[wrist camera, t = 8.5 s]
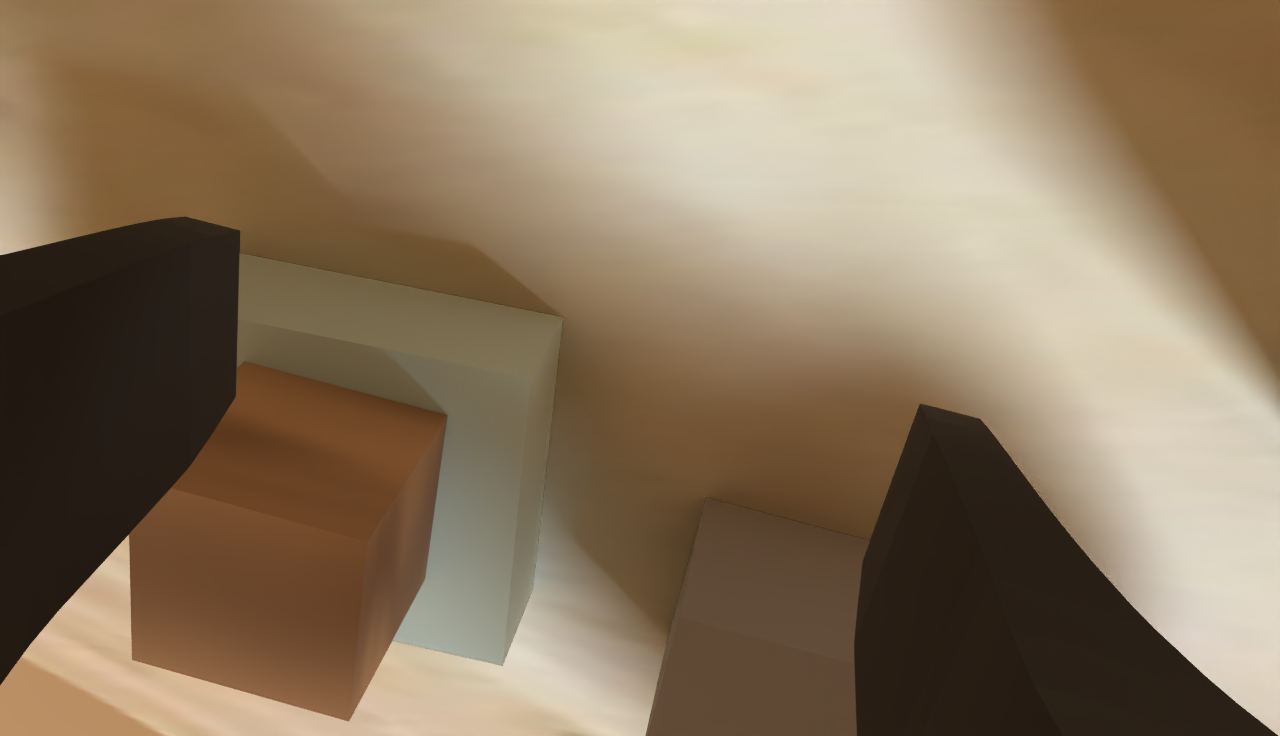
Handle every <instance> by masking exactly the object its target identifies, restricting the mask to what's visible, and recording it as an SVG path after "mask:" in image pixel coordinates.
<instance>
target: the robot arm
mask: <svg viewBox="0 0 1280 736" xmlns="http://www.w3.org/2000/svg"><path fill="white" fill-rule="evenodd" d="M239 255H240V231H239V230H235V229H231V228H227V227H223V226H219V225H215V224H211V223H208V222H204V221H200V220H196V219H192V218H188V217H178V218H167V219H160V220H154V221H149V222H143V223H138V224H133V225H129V226H124V227H120V228H115V229H111V230H106V231H102V232H98V233H93V234H89V235H85V236H81V237H77V238H72V239H68V240H64V241H60V242H56V243H51V244H47V245H43V246H39V247H34V248H30V249H26V250H22V251H18V252H13V253H9V254H5V255H0V685H1V683H2V682H3V681H4V679H5V678H6V677H7V675H8V674H9V672H10V671H11V669H12V668H13V667H14V666H15V664H16V663H17V661H18V660H19V659H20V657H21V656H22V655H23V653H24V652H25V651H26V649H27V648H28V647H29V645H30V644H31V643H32V642H33V640H34V639H35V638H36V637H37V636H38V634H39V633H40V632H41V631H42V630H43V628H44V627H45V626H46V625H47V624H48V622H49V621H50V620H51V619H52V618H53V617H54V615H55V614H56V613H57V612H58V611H59V609H60V608H61V607H62V606H63V605H64V604H65V603H66V602H67V601H68V600H69V599H70V598H71V596H72V595H73V594H74V593H75V592H76V591H77V590H78V589H79V588H80V587H81V586H82V585H83V583H84V582H85V581H86V580H87V579H88V578H89V577H90V576H91V575H92V574H93V573H94V571H95V570H96V569H97V568H98V567H99V566H100V565H101V564H102V563H103V562H104V561H105V560H106V558H107V557H108V556H109V555H110V554H111V553H112V552H113V551H114V550H115V549H116V548H117V547H118V545H119V544H120V543H121V542H122V541H123V540H124V539H125V538H126V537H127V536H128V535H129V534H130V532H131V531H132V530H133V529H134V528H135V527H136V526H137V525H138V524H139V523H140V522H141V521H142V519H143V518H144V517H145V516H146V515H147V514H148V513H149V512H150V511H151V510H152V508H153V507H154V506H155V505H156V504H157V503H158V502H159V501H160V500H161V498H162V497H163V496H164V495H165V494H166V493H167V492H168V491H169V490H170V488H171V487H172V486H173V485H174V484H175V483H176V482H177V481H178V479H179V478H180V477H181V476H182V475H183V474H184V473H185V471H186V470H187V469H188V468H189V467H190V466H191V464H192V463H193V461H194V460H195V458H196V457H197V455H198V454H199V453H200V451H201V450H202V448H203V447H204V445H205V444H206V442H207V441H208V440H209V438H210V437H211V435H212V434H213V432H214V430H215V429H216V427H217V426H218V424H219V423H220V421H221V419H222V418H223V416H224V415H225V413H226V412H227V410H228V408H229V407H230V405H231V404H232V402H233V400H234V399H235V397H236V374H237V334H238V295H239ZM854 665H855V696H856V724H857V736H1278V735H1277V734H1275V733H1274V732H1273V731H1271V730H1270V729H1269V728H1268V727H1266V726H1265V725H1264V724H1263V723H1261V722H1260V721H1259V720H1258V719H1256V718H1255V717H1254V716H1252V715H1251V714H1250V713H1249V712H1247V711H1246V710H1245V709H1244V708H1242V707H1241V706H1240V705H1239V704H1237V703H1236V702H1235V701H1234V700H1233V699H1231V698H1230V697H1229V696H1228V695H1227V694H1226V693H1224V692H1223V691H1222V690H1221V689H1220V688H1218V687H1217V686H1216V685H1215V684H1214V683H1213V682H1211V681H1210V680H1209V679H1208V678H1207V677H1206V676H1205V675H1203V674H1202V673H1201V672H1200V671H1199V670H1198V669H1197V668H1196V667H1195V666H1194V665H1193V664H1192V663H1191V662H1190V661H1188V660H1187V659H1186V658H1185V657H1184V656H1183V655H1182V654H1181V653H1180V652H1179V651H1178V650H1177V649H1176V648H1175V647H1173V646H1172V645H1171V644H1170V643H1169V642H1168V641H1167V640H1166V639H1165V638H1164V637H1163V636H1162V635H1161V634H1160V633H1158V632H1157V631H1156V630H1155V629H1154V628H1153V627H1152V626H1151V625H1150V624H1149V623H1148V622H1147V621H1146V620H1145V619H1144V618H1143V617H1142V616H1141V615H1140V614H1139V613H1138V611H1137V610H1136V609H1135V608H1134V607H1133V606H1132V605H1131V604H1130V603H1129V602H1128V601H1127V600H1126V599H1125V598H1124V596H1123V595H1122V594H1121V593H1120V592H1119V591H1118V590H1117V589H1116V588H1115V586H1114V585H1113V584H1112V583H1111V582H1110V581H1109V580H1108V579H1107V578H1106V577H1105V575H1104V574H1103V573H1102V572H1101V571H1100V570H1099V569H1098V568H1097V567H1096V565H1095V564H1094V563H1093V562H1092V561H1091V560H1090V558H1089V557H1088V556H1087V555H1086V554H1085V553H1084V551H1083V550H1082V549H1081V548H1080V547H1079V545H1078V544H1077V543H1076V542H1075V541H1074V539H1073V538H1072V537H1071V536H1070V534H1069V533H1068V532H1067V531H1066V530H1065V528H1064V527H1063V526H1062V525H1061V523H1060V522H1059V521H1058V519H1057V518H1056V517H1055V516H1054V514H1053V513H1052V512H1051V511H1050V509H1049V508H1048V507H1047V505H1046V504H1045V503H1044V501H1043V500H1042V499H1041V498H1040V496H1039V495H1038V494H1037V492H1036V491H1035V490H1034V488H1033V487H1032V486H1031V484H1030V483H1029V482H1028V480H1027V479H1026V478H1025V476H1024V475H1023V474H1022V472H1021V471H1020V470H1019V468H1018V467H1017V466H1016V464H1015V463H1014V462H1013V460H1012V459H1011V458H1010V456H1009V455H1008V454H1007V452H1006V451H1005V449H1004V448H1003V447H1002V445H1001V444H1000V443H999V441H998V440H997V439H996V438H995V436H994V435H993V434H992V432H991V431H990V430H989V429H988V427H987V426H986V425H985V424H984V423H983V422H982V421H981V420H980V419H978V418H975V417H971V416H967V415H963V414H959V413H955V412H951V411H947V410H943V409H939V408H935V407H931V406H927V405H923V404H920V405H919V408H918V410H917V413H916V416H915V419H914V421H913V424H912V427H911V430H910V432H909V435H908V438H907V441H906V443H905V446H904V449H903V452H902V454H901V457H900V460H899V463H898V465H897V468H896V471H895V474H894V476H893V479H892V482H891V485H890V487H889V490H888V493H887V496H886V498H885V501H884V504H883V507H882V509H881V512H880V515H879V518H878V520H877V523H876V526H875V529H874V531H873V534H872V537H871V540H870V542H869V545H868V548H867V551H866V553H865V556H864V559H863V562H862V571H861V580H860V589H859V598H858V606H857V617H856V627H855V638H854Z"/></svg>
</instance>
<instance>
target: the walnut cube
mask: <svg viewBox="0 0 1280 736" xmlns="http://www.w3.org/2000/svg"><path fill="white" fill-rule="evenodd" d="M446 423H447V415H445V414H441V413H437V412H433V411H430V410H426V409H422V408H418V407H415V406H411V405H407V404H403V403H400V402H396V401H392V400H388V399H385V398H381V397H377V396H373V395H370V394H366V393H362V392H358V391H355V390H351V389H347V388H343V387H340V386H336V385H332V384H328V383H325V382H321V381H317V380H313V379H310V378H306V377H302V376H298V375H295V374H291V373H287V372H283V371H280V370H276V369H272V368H268V367H264V366H261V365H257V364H253V363H249V362H246V361H244V362H243V363H242V364H241V365H240V366H239V367H238V368H237V374H236V397H235V399H234V400H233V402H232V404H231V405H230V407H229V408H228V410H227V412H226V413H225V415H224V416H223V418H222V419H221V421H220V423H219V424H218V426H217V427H216V429H215V430H214V432H213V434H212V435H211V437H210V438H209V440H208V441H207V442H206V444H205V445H204V447H203V448H202V450H201V451H200V453H199V454H198V455H197V457H196V458H195V460H194V461H193V463H192V464H191V466H190V467H189V468H188V469H187V470H186V471H185V473H184V474H183V475H182V476H181V477H180V478H179V479H178V481H177V482H176V483H175V484H174V485H173V486H172V487H171V488H170V490H169V491H168V492H167V493H166V494H165V495H164V496H163V497H162V498H161V500H160V501H159V502H158V503H157V504H156V505H155V506H154V507H153V508H152V510H151V511H150V512H149V513H148V514H147V515H146V516H145V517H144V518H143V519H142V521H141V522H140V523H139V524H138V525H137V526H136V527H135V528H134V529H133V530H132V531H131V532H130V534H129V545H130V589H131V633H132V660H135V661H138V662H142V663H145V664H149V665H152V666H156V667H159V668H163V669H166V670H170V671H173V672H177V673H180V674H184V675H187V676H191V677H194V678H198V679H201V680H205V681H209V682H212V683H216V684H219V685H223V686H226V687H230V688H233V689H237V690H240V691H244V692H247V693H251V694H254V695H258V696H261V697H265V698H268V699H272V700H275V701H279V702H282V703H286V704H290V705H293V706H297V707H300V708H304V709H307V710H311V711H314V712H318V713H321V714H325V715H328V716H332V717H335V718H339V719H342V720H346V721H349V720H350V719H351V717H352V715H353V713H354V711H355V709H356V707H357V705H358V704H359V702H360V700H361V698H362V696H363V694H364V692H365V691H366V689H367V687H368V685H369V683H370V681H371V679H372V677H373V676H374V674H375V672H376V670H377V668H378V666H379V664H380V663H381V661H382V659H383V657H384V655H385V653H386V651H387V650H388V648H389V646H390V644H391V642H392V640H393V638H394V636H395V635H396V633H397V631H398V629H399V627H400V625H401V623H402V622H403V620H404V618H405V616H406V614H407V612H408V610H409V608H410V607H411V605H412V603H413V601H414V599H415V597H416V595H417V594H418V592H419V590H420V588H421V586H422V584H423V582H424V581H425V577H426V569H427V562H428V555H429V547H430V540H431V533H432V525H433V518H434V511H435V503H436V496H437V489H438V481H439V474H440V467H441V459H442V452H443V445H444V437H445V430H446Z"/></svg>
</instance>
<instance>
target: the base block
mask: <svg viewBox="0 0 1280 736" xmlns="http://www.w3.org/2000/svg"><path fill="white" fill-rule="evenodd" d="M562 324H563V317H560V316H555V315H550V314H545V313H540V312H535V311H530V310H525V309H520V308H515V307H510V306H505V305H500V304H495V303H489V302H484V301H479V300H474V299H469V298H464V297H459V296H454V295H449V294H444V293H439V292H434V291H429V290H424V289H419V288H414V287H409V286H404V285H399V284H394V283H389V282H384V281H378V280H373V279H368V278H363V277H358V276H353V275H348V274H343V273H338V272H333V271H328V270H323V269H318V268H313V267H308V266H303V265H298V264H293V263H288V262H283V261H278V260H273V259H268V258H262V257H257V256H252V255H247V254H242V253H240V255H239V295H238V334H237V368H238V367H239V366H240V365H241V364H242V363H243V362H244V361H246V362H249V363H253V364H257V365H261V366H264V367H268V368H272V369H276V370H280V371H283V372H287V373H291V374H295V375H298V376H302V377H306V378H310V379H313V380H317V381H321V382H325V383H328V384H332V385H336V386H340V387H343V388H347V389H351V390H355V391H358V392H362V393H366V394H370V395H373V396H377V397H381V398H385V399H388V400H392V401H396V402H400V403H403V404H407V405H411V406H415V407H418V408H422V409H426V410H430V411H433V412H437V413H441V414H445V415H447V423H446V430H445V437H444V445H443V452H442V459H441V467H440V474H439V481H438V489H437V496H436V503H435V511H434V518H433V525H432V533H431V540H430V547H429V555H428V562H427V569H426V577H425V581H424V582H423V584H422V586H421V588H420V590H419V592H418V594H417V595H416V597H415V599H414V601H413V603H412V605H411V607H410V608H409V610H408V612H407V614H406V616H405V618H404V620H403V622H402V623H401V625H400V627H399V629H398V631H397V633H396V635H395V636H394V638H393V640H392V641H394V642H399V643H403V644H407V645H412V646H416V647H421V648H425V649H430V650H434V651H439V652H443V653H448V654H452V655H456V656H461V657H465V658H470V659H474V660H479V661H483V662H488V663H492V664H497V665H501V666H503V663H504V661H505V658H506V656H507V653H508V651H509V648H510V646H511V643H512V641H513V638H514V636H515V633H516V631H517V628H518V625H519V623H520V620H521V618H522V615H523V613H524V610H525V608H526V605H527V603H528V600H529V598H530V595H531V593H532V590H533V585H534V576H535V567H536V558H537V549H538V540H539V531H540V522H541V513H542V504H543V495H544V486H545V477H546V468H547V459H548V450H549V441H550V432H551V423H552V414H553V405H554V396H555V387H556V378H557V369H558V360H559V351H560V342H561V333H562Z"/></svg>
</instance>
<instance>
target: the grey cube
mask: <svg viewBox="0 0 1280 736" xmlns="http://www.w3.org/2000/svg"><path fill="white" fill-rule="evenodd" d="M869 542H870V540H866V539H862V538H858V537H854V536H851V535H847V534H843V533H839V532H835V531H831V530H828V529H824V528H820V527H816V526H812V525H809V524H805V523H801V522H797V521H793V520H790V519H786V518H782V517H778V516H774V515H771V514H767V513H763V512H759V511H755V510H752V509H748V508H744V507H740V506H736V505H732V504H729V503H725V502H721V501H717V500H713V499H710V498H706V499H705V502H704V506H703V510H702V513H701V517H700V521H699V525H698V528H697V532H696V536H695V539H694V543H693V547H692V550H691V554H690V558H689V561H688V565H687V569H686V572H685V576H684V580H683V583H682V587H681V591H680V594H679V598H678V602H677V606H676V609H675V613H674V617H673V620H672V624H671V628H670V631H669V635H668V639H667V643H666V648H665V652H664V657H663V661H662V666H661V670H660V674H659V679H658V683H657V688H656V692H655V697H654V701H653V705H652V710H651V714H650V719H649V723H648V728H647V732H646V736H857V724H856V696H855V665H854V638H855V627H856V617H857V606H858V598H859V589H860V580H861V571H862V562H863V559H864V556H865V553H866V551H867V548H868V545H869Z"/></svg>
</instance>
